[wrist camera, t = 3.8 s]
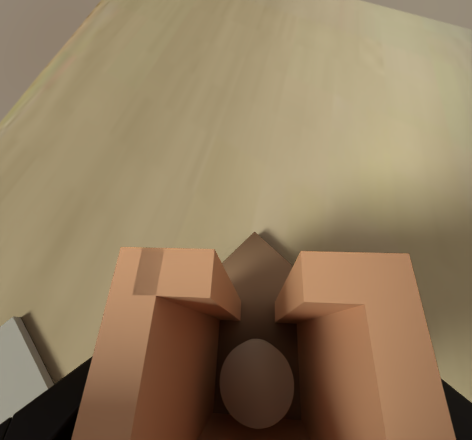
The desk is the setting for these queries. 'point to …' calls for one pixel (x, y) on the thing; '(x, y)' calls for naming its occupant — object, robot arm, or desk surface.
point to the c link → (286, 311)
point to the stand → (257, 343)
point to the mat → (19, 369)
